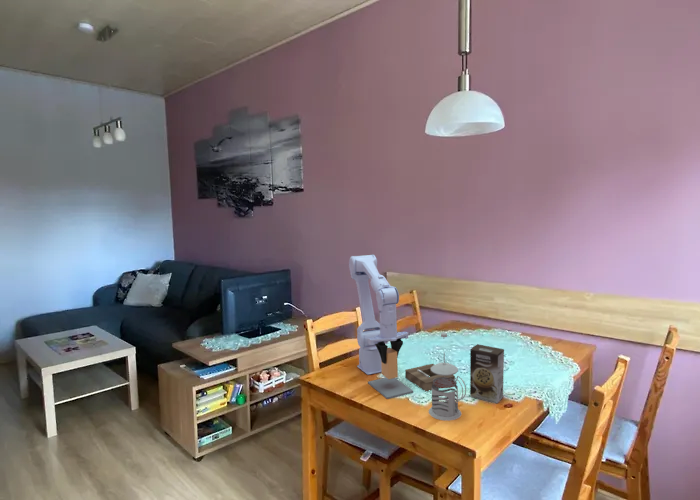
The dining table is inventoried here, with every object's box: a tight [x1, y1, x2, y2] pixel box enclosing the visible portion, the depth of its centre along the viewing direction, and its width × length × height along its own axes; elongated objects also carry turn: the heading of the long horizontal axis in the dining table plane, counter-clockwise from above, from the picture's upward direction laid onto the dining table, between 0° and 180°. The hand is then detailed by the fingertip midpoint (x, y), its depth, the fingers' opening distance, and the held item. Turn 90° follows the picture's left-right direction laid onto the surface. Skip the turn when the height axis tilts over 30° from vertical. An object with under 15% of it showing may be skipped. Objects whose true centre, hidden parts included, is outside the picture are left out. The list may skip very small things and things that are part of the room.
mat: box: [367, 377, 414, 400], centre depth 151 cm, size 14×10×1 cm
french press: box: [428, 331, 467, 422], centre depth 131 cm, size 10×12×25 cm
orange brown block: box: [381, 346, 399, 379], centre depth 150 cm, size 5×4×9 cm
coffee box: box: [469, 343, 505, 404], centre depth 141 cm, size 9×6×16 cm
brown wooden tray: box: [404, 363, 456, 392], centre depth 156 cm, size 13×12×4 cm
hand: (389, 361), depth 150 cm, fingers closed on orange brown block, 3 cm apart
